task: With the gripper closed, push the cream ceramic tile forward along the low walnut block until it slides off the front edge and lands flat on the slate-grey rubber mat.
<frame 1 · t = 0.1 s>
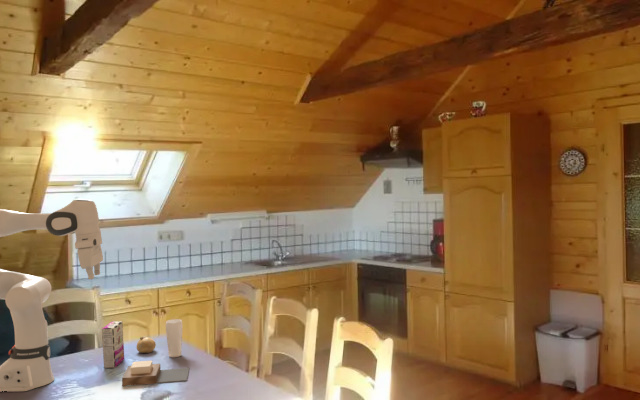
hand: (94, 276, 216), 39 cm above the table, tool pointing down, fingers open, 8 cm apart
mat: (173, 375, 217), on the table
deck: (142, 378, 215), on the table
tile: (141, 370, 215), point 3 cm above the table, touching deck
candy bar box: (114, 364, 233), on the table
white tapered cup: (175, 356, 242), on the table
onion: (146, 352, 249), on the table
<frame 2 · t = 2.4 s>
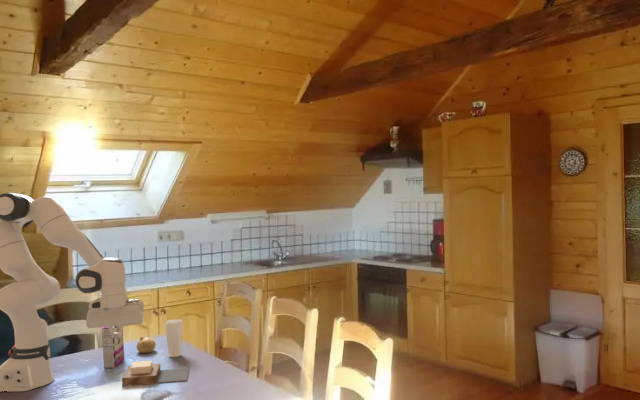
hand: (116, 337, 213), 16 cm above the table, tool pointing down, fingers closed
nothing on the table moved.
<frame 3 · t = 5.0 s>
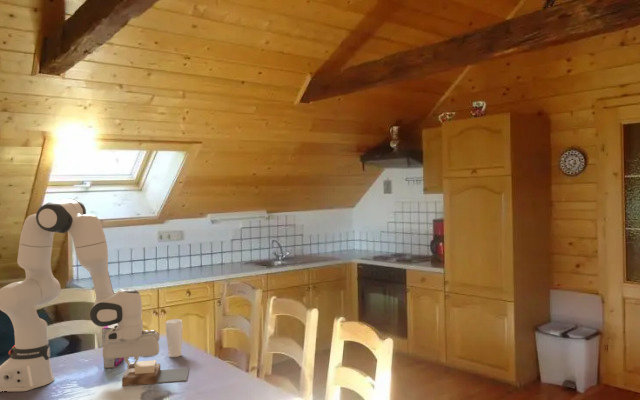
hand: (132, 368, 214), 4 cm above the table, tool pointing down, fingers closed
tile: (145, 370, 215), point 3 cm above the table, touching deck, gripper
everything else where it was.
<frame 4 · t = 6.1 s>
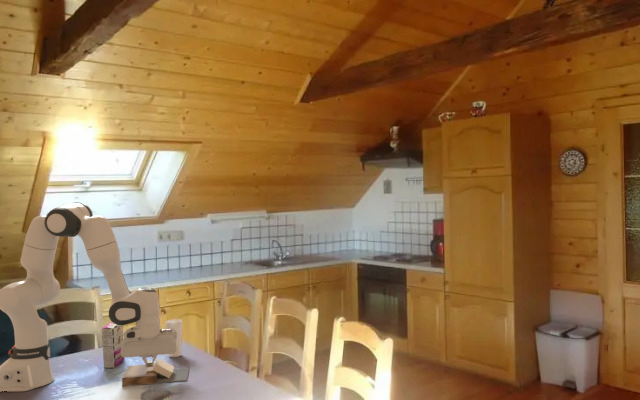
hand: (149, 366, 215), 4 cm above the table, tool pointing down, fingers closed
tile: (161, 371, 216), point 2 cm above the table, tilted 31°, touching gripper, mat
everything else where it was.
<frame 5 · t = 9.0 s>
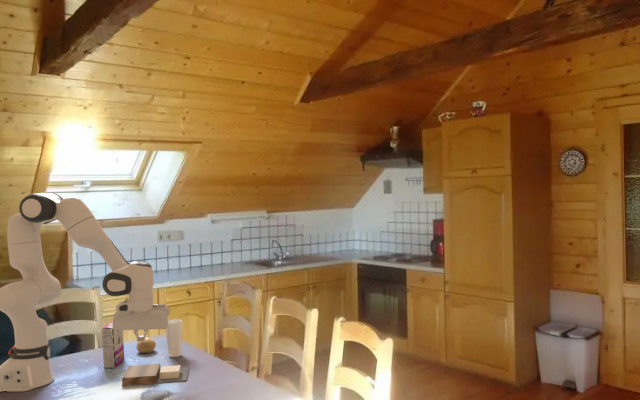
hand: (140, 340, 215), 14 cm above the table, tool pointing down, fingers closed
tile: (170, 375, 216), resting on mat
everything else where it was.
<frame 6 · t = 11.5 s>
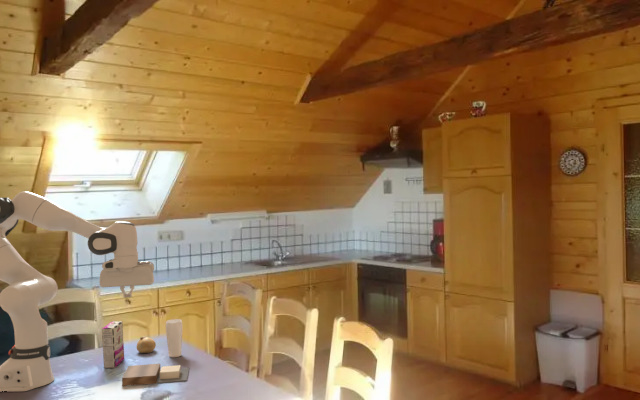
hand: (127, 297, 224), 29 cm above the table, tool pointing down, fingers closed
nothing on the table moved.
at the end: tile resting on mat; tile inside the target area (1.3 cm from its centre), resting on mat; tile tilted 0° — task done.
